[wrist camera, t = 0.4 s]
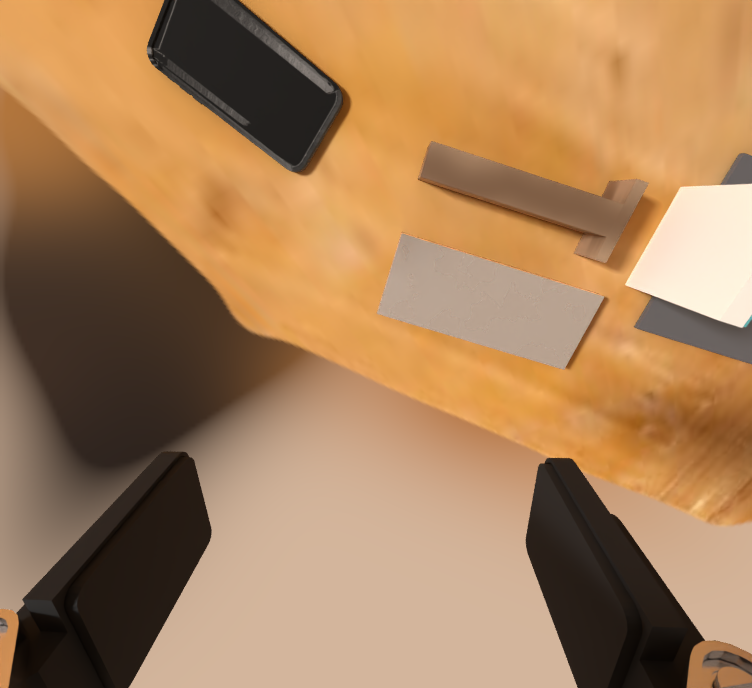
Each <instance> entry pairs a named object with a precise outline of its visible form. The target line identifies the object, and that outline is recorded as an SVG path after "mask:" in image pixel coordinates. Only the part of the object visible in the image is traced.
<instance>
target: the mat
mask: <svg viewBox="0 0 752 688" xmlns="http://www.w3.org/2000/svg"><path fill="white" fill-rule="evenodd" d="M737 184H752V156H751V155H748V154H745V153H743V154H739V155H738V157H737V158H736V160H735V162H734V163H733V165H732V167H731V168H730V170H729V171H728V173H727V175H726V176H725V178H724V180H723V181H722V183H721V185H737ZM634 327H635V328H637V329H640V330H643V331H647V332H650V333H653V334H656V335H659V336H663V337H666V338H669V339H672V340H676V341H679V342H682V343H685V344H688V345H692V346H695V347H698V348H701V349H705V350H708V351H711V352H714V353H718V354H721V355H724V356H727V357H730V358H734V359H737V360H740V361H743V362H747V363H750V364H752V320H751V321H750V322H749V324H748V325H747V326H746V327H742V328H741V327H737V326H734V325H731V324H728V323H725V322H722V321H719V320H716V319H713V318H711V317H708V316H705V315H703V314H700V313H698V312H695V311H692V310H690V309H687V308H684V307H682V306H679V305H676V304H674V303H671V302H669V301H666V300H663V299H661V298H658V297H655V296H652V298H651V300H650V301H649V303H648V305H647V306H646V308H645V310H644V311H643V313H642V315H641V316H640V318H639V320H638V321H637V323H636V324H635V326H634Z"/></svg>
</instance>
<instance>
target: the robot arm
mask: <svg viewBox="0 0 752 688" xmlns="http://www.w3.org/2000/svg"><path fill="white" fill-rule="evenodd" d="M210 538H211V526H210V522H209V518H208V514H207V509H206V506H205V502H204V498H203V494H202V490H201V486H200V482H199V478H198V474H197V470H196V466H195V462H194V460H193V459H192V458H190V457H189V456H188V454H187V453H186V452H162V453H161V454H159V455H158V456H157V457H156V458H155V460H154V461H153V462H152V463H151V464H150V465H149V466H148V467H147V468H146V469H145V470H144V471H143V472H142V473H141V474H140V475H139V476H138V477H137V479H136V480H135V481H134V482H133V483H132V484H131V485H130V486H129V487H128V488H127V489H126V490H125V491H124V492H123V493H122V494H121V496H120V497H119V498H118V499H117V500H116V501H115V502H114V503H113V504H112V505H111V506H110V507H109V508H108V509H107V510H106V511H105V512H104V513H103V515H102V516H101V517H100V518H99V519H98V520H97V521H96V522H95V523H94V524H93V525H92V526H91V527H90V528H89V529H88V530H87V531H86V533H85V534H84V535H83V536H82V537H81V538H80V539H79V540H78V541H77V542H76V543H75V544H74V545H73V546H72V547H71V548H70V549H69V550H68V552H67V553H66V554H65V555H64V556H63V557H62V558H61V559H60V560H59V561H58V562H57V563H56V564H55V565H54V566H53V567H52V568H51V570H50V571H49V572H48V573H47V574H46V575H45V576H44V577H43V578H42V579H41V580H40V581H39V582H38V583H37V584H36V585H35V587H34V588H33V589H32V590H31V591H30V592H29V593H28V594H27V595H26V596H25V597H24V598H23V601H24V603H25V604H24V606H23V607H22V608H21V609H20V610H19V611H18V612H17V613H15V612H14V611H13V610H8V609H0V688H128V687H129V686H130V685H131V683H132V681H133V680H134V678H135V676H136V674H137V672H138V670H139V669H140V667H141V665H142V663H143V661H144V660H145V658H146V656H147V654H148V652H149V651H150V649H151V647H152V645H153V643H154V642H155V640H156V638H157V636H158V634H159V633H160V631H161V629H162V627H163V625H164V623H165V622H166V620H167V618H168V616H169V614H170V613H171V611H172V609H173V607H174V605H175V604H176V602H177V600H178V598H179V596H180V595H181V593H182V591H183V589H184V587H185V586H186V584H187V582H188V580H189V578H190V576H191V575H192V573H193V571H194V569H195V567H196V566H197V564H198V562H199V560H200V558H201V557H202V555H203V553H204V551H205V549H206V547H207V545H208V544H209V542H210ZM526 548H527V552H528V555H529V558H530V561H531V564H532V566H533V569H534V572H535V574H536V577H537V580H538V582H539V585H540V588H541V590H542V593H543V596H544V598H545V601H546V604H547V607H548V609H549V612H550V615H551V617H552V620H553V623H554V625H555V628H556V631H557V633H558V636H559V639H560V641H561V644H562V647H563V649H564V652H565V655H566V657H567V660H568V663H569V666H570V668H571V671H572V674H573V676H574V679H575V681H576V684H577V687H578V688H752V654H750V653H748V652H746V651H744V650H742V649H740V648H738V647H735V646H733V645H731V644H728V643H723V642H720V641H715V640H714V641H705V640H704V638H703V637H702V636H701V634H700V633H699V631H698V630H697V629H696V627H695V626H694V624H693V623H692V622H691V620H690V619H689V617H688V616H687V614H686V613H685V611H684V610H683V609H682V607H681V606H680V604H679V603H678V602H677V600H676V599H675V597H674V596H673V594H672V593H671V592H670V590H669V589H668V587H667V586H666V584H665V583H664V582H663V580H662V579H661V577H660V576H659V575H658V573H657V572H656V570H655V569H654V568H653V566H652V565H651V563H650V562H649V560H648V559H647V558H646V556H645V555H644V553H643V552H642V550H641V549H640V547H639V546H638V545H637V543H636V542H635V540H634V539H633V537H632V536H631V535H630V533H629V532H628V530H627V529H626V528H625V526H624V525H623V523H622V522H621V521H620V520H619V519H618V517H616V516H615V515H613V514H610V513H609V511H608V510H607V508H606V507H605V505H604V504H603V503H602V501H601V500H600V498H599V497H598V495H597V494H596V492H595V491H594V489H593V488H592V486H591V485H590V484H589V482H588V481H587V479H586V478H585V476H584V475H583V473H582V472H581V470H580V469H579V467H578V466H577V465H576V463H575V462H574V461H573V460H572V459H570V458H547V459H546V461H545V464H540V465H539V467H538V471H537V477H536V483H535V489H534V494H533V501H532V506H531V512H530V518H529V523H528V529H527V534H526Z"/></svg>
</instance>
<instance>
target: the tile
mask: <svg viewBox="0 0 752 688" xmlns="http://www.w3.org/2000/svg"><path fill="white" fill-rule="evenodd" d="M625 285H626V286H629V287H632V288H634V289H637V290H640V291H642V292H645V293H647V294H650V295H653V296H655V297H658V298H661V299H663V300H666V301H669V302H671V303H674V304H676V305H679V306H682V307H684V308H687V309H690V310H692V311H695V312H698V313H700V314H703V315H705V316H708V317H711V318H713V319H716V320H719V321H722V322H725V323H728V324H731V325H734V326H737V327H741V328H742V327H746V326H747V325H748V324H749V322H750V321H751V320H752V184H737V185H714V186H690V187H681V188H680V189H679V191H678V193H677V195H676V196H675V198H674V200H673V202H672V203H671V205H670V207H669V209H668V210H667V212H666V214H665V216H664V217H663V219H662V221H661V223H660V224H659V226H658V228H657V230H656V231H655V233H654V235H653V237H652V238H651V240H650V242H649V244H648V245H647V247H646V249H645V251H644V252H643V254H642V256H641V258H640V260H639V261H638V263H637V265H636V267H635V268H634V270H633V272H632V274H631V275H630V277H629V279H628V281H627V282H626V284H625Z"/></svg>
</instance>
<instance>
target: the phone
mask: <svg viewBox="0 0 752 688" xmlns="http://www.w3.org/2000/svg"><path fill="white" fill-rule="evenodd" d="M147 54H148V57H149V60H150V61H151V63H152V64H153V65H154V66H155V67H156V68H157V69H158V70H159V71H161V72H162V73H163V74H165V75H166V76H167V77H168V78H169V79H170V80H172V81H173V82H175V83H176V84H178V85H179V86H180V88H182V89H183V90H184V91H186V92H187V93H188V94H189V95H192V96H193V98H194V99H195V100H197V101H198V102H199V103H201V104H202V105H205V106H206V107H207V108H209V109H210V110H211V111H212V112H214V113H215V114H216V115H218V116H219V117H220V118H221V119H223V120H224V121H225V122H227V123H228V124H229V125H230V126H232V127H233V128H234V129H236V130H237V131H238V132H239V133H241V134H242V135H243V136H245V137H246V138H247V139H249V140H250V141H251V142H252V143H254V144H255V145H256V146H258V147H259V148H260V149H261V150H263V151H264V152H265V153H267V154H268V155H269V156H270V157H272V158H273V159H274V160H276V161H277V162H278V163H280V164H281V165H282V166H283V167H285V168H286V169H288V170H289V171H292V172H301V171H303V170H304V169H305V168H306V167H307V165H308V163H309V162H310V160H311V158H312V157H313V155H314V153H315V152H316V150H317V148H318V147H319V145H320V143H321V142H322V140H323V138H324V136H325V135H326V133H327V131H328V130H329V128H330V126H331V125H332V123H333V121H334V120H335V118H336V116H337V114H338V113H339V111H340V109H341V107H342V105H343V95H342V93H341V90H340V88H339V87H338V86H337V84H336V83H335V82H333V81H332V80H331V79H330V78H329V77H327V76H326V75H325V74H324V73H323V72H322V71H320V70H319V69H318V68H317V67H316V66H315V65H313V64H312V63H311V62H310V61H309V60H307V59H306V58H305V57H304V56H303V55H302V54H300V53H299V52H298V51H297V50H296V49H295V48H293V47H292V46H291V45H290V44H289V43H287V42H286V41H285V40H284V39H283V38H282V37H280V36H279V35H278V34H277V33H276V32H274V31H273V30H272V29H271V28H270V27H269V26H267V25H266V24H265V23H264V22H263V21H262V20H260V19H259V18H258V17H257V16H256V15H254V14H253V13H252V12H251V11H250V10H249V9H247V8H246V7H245V6H244V5H243V4H241V3H240V2H239V1H238V0H164V3H163V6H162V8H161V11H160V13H159V16H158V19H157V21H156V24H155V26H154V29H153V32H152V34H151V37H150V39H149V42H148V46H147Z"/></svg>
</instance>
